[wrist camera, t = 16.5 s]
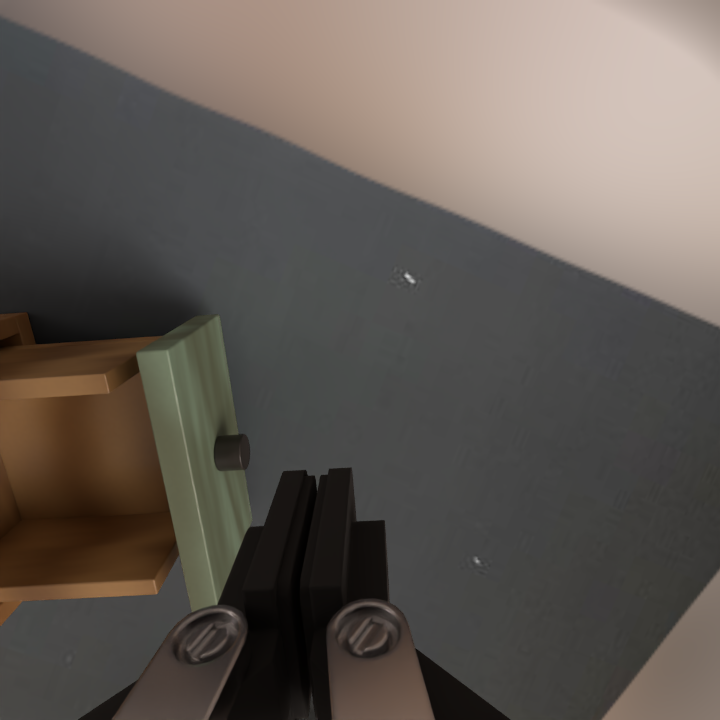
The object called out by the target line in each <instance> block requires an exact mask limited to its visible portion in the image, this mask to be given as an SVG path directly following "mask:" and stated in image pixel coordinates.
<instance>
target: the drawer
mask: <svg viewBox="0 0 720 720" xmlns="http://www.w3.org/2000/svg"><path fill="white" fill-rule="evenodd" d="M249 459H250V446H249V441H248V438H247V436H246V435H245V434H238V428H237V421H236V415H235V409H234V403H233V396H232V390H231V384H230V378H229V372H228V365H227V359H226V353H225V347H224V340H223V334H222V328H221V322H220V316H219V315H218V314H214V315H200V316H195V317H193V318H192V319H190V320H188V321H187V322H185V323H183V324H182V325H180V326H179V327H177V328H175V329H174V330H172V331H170V332H169V333H167V334H165V335H164V336H153V337H139V338H124V339H110V340H95V341H81V342H66V343H52V344H37V345H23V346H8V347H0V602H14V601H34V600H53V599H73V598H93V597H112V596H132V595H152V594H157V593H158V592H159V590H160V588H161V586H162V584H163V583H164V581H165V579H166V577H167V575H168V574H169V572H170V570H171V568H172V566H173V564H174V563H175V561H176V559H177V557H178V555H180V560H181V564H182V569H183V574H184V578H185V583H186V587H187V592H188V597H189V601H190V606H191V610H192V612H194V611H196V610H198V609H201V608H204V607H208V606H212V605H217V604H218V601H219V599H220V596H221V594H222V591H223V589H224V586H225V584H226V581H227V579H228V576H229V574H230V571H231V569H232V566H233V564H234V561H235V559H236V556H237V554H238V551H239V549H240V546H241V544H242V541H243V539H244V536H245V534H246V531H247V530H248V528H249V527H250V525H251V522H252V515H251V509H250V502H249V496H248V490H247V484H246V478H245V471H244V470H245V469H247V467H248V464H249Z"/></svg>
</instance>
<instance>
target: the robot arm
mask: <svg viewBox="0 0 720 720" xmlns="http://www.w3.org/2000/svg"><path fill="white" fill-rule="evenodd" d="M311 693H312V697H313V704H314V712H315V717H316V718H318V720H510V719H509V718H508V717H506V716H505V715H504V714H502V713H501V712H500V711H498V710H497V709H496V708H494V707H493V706H492V705H490V704H489V703H488V702H486V701H485V700H484V699H482V698H481V697H480V696H478V695H477V694H476V693H474V692H473V691H472V690H470V689H469V688H468V687H466V686H465V685H464V684H462V683H461V682H460V681H458V680H457V679H456V678H454V677H453V676H452V675H450V674H449V673H448V672H446V671H445V670H444V669H442V668H441V667H440V666H438V665H437V664H436V663H434V662H433V661H432V660H430V659H429V658H428V657H426V656H425V655H424V654H422V653H421V652H420V651H418V650H417V649H416V648H415V646H414V642H413V639H412V635H411V632H410V628H409V625H408V622H407V620H406V618H405V616H404V614H403V613H402V612H401V611H400V610H399V609H398V608H397V607H396V606H395V605H393V604H391V603H390V601H389V580H388V563H387V547H386V532H385V520H380V521H359V522H357V521H356V509H355V498H354V486H353V475H352V468H335V469H329V472H328V475H321V476H320V481H319V486H318V491H317V487H316V479H315V476H308V475H307V471H306V470H298V471H283V473H282V476H281V479H280V481H279V484H278V487H277V490H276V493H275V496H274V499H273V502H272V504H271V507H270V510H269V513H268V516H267V519H266V522H265V525H264V526H258V527H250V528H248V530H247V531H246V534H245V536H244V539H243V541H242V544H241V546H240V549H239V551H238V554H237V556H236V559H235V561H234V564H233V566H232V569H231V571H230V574H229V576H228V579H227V581H226V584H225V586H224V589H223V591H222V594H221V596H220V599H219V601H218V604H217V605H212V606H208V607H204V608H201V609H198V610H196V611H194V612H192V613H190V614H188V615H187V616H186V617H184V618H183V619H182V620H181V621H179V622H178V623H177V624H176V625H175V626H174V628H173V629H172V630H171V631H170V632H169V634H168V635H167V637H166V638H165V640H164V641H163V643H162V644H161V646H160V647H159V649H158V650H157V652H156V653H155V655H154V656H153V658H152V659H151V661H150V662H149V664H148V665H147V667H146V668H145V670H144V672H143V673H142V675H141V676H140V678H139V679H138V680H137V681H136V682H134V683H133V684H131V685H129V686H128V687H126V688H125V689H123V690H122V691H120V692H119V693H117V694H116V695H114V696H113V697H111V698H110V699H108V700H107V701H105V702H104V703H102V704H101V705H99V706H98V707H96V708H95V709H93V710H92V711H90V712H89V713H87V714H86V715H84V716H83V717H81V718H80V719H78V720H299V719H302V718H308V715H309V709H310V701H311Z"/></svg>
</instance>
